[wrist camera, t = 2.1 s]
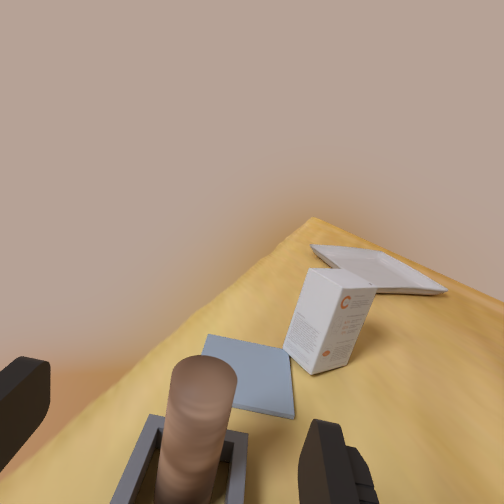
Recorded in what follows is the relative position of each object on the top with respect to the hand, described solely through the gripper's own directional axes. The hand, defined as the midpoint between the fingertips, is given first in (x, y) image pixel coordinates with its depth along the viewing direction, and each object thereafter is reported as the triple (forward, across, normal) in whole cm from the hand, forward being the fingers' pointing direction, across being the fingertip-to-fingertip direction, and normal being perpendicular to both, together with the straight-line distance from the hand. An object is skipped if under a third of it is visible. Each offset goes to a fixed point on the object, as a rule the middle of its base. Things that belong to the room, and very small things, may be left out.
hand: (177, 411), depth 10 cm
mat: (+27, -4, +20) cm, 34 cm away
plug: (+11, 0, +20) cm, 23 cm away
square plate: (+77, -36, +20) cm, 87 cm away
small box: (+33, -14, +20) cm, 41 cm away
